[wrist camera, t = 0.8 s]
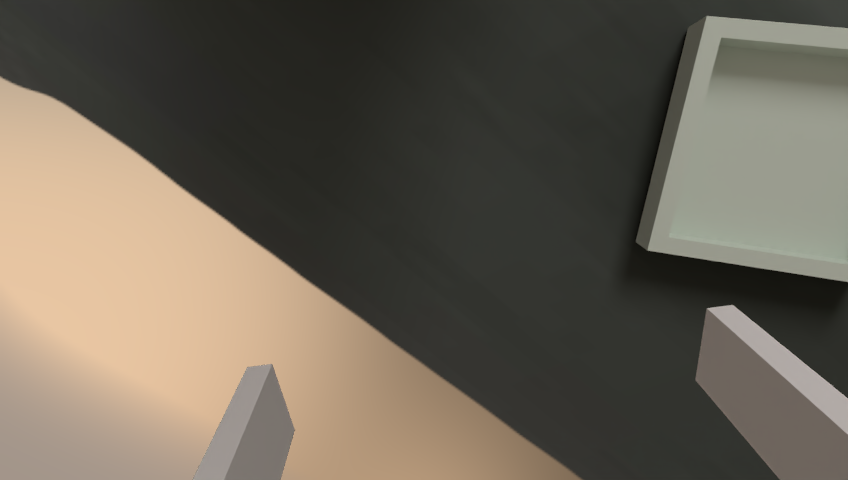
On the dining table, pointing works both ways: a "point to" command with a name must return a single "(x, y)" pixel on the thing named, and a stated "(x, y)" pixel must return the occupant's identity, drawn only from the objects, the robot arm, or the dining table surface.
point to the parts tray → (755, 150)
